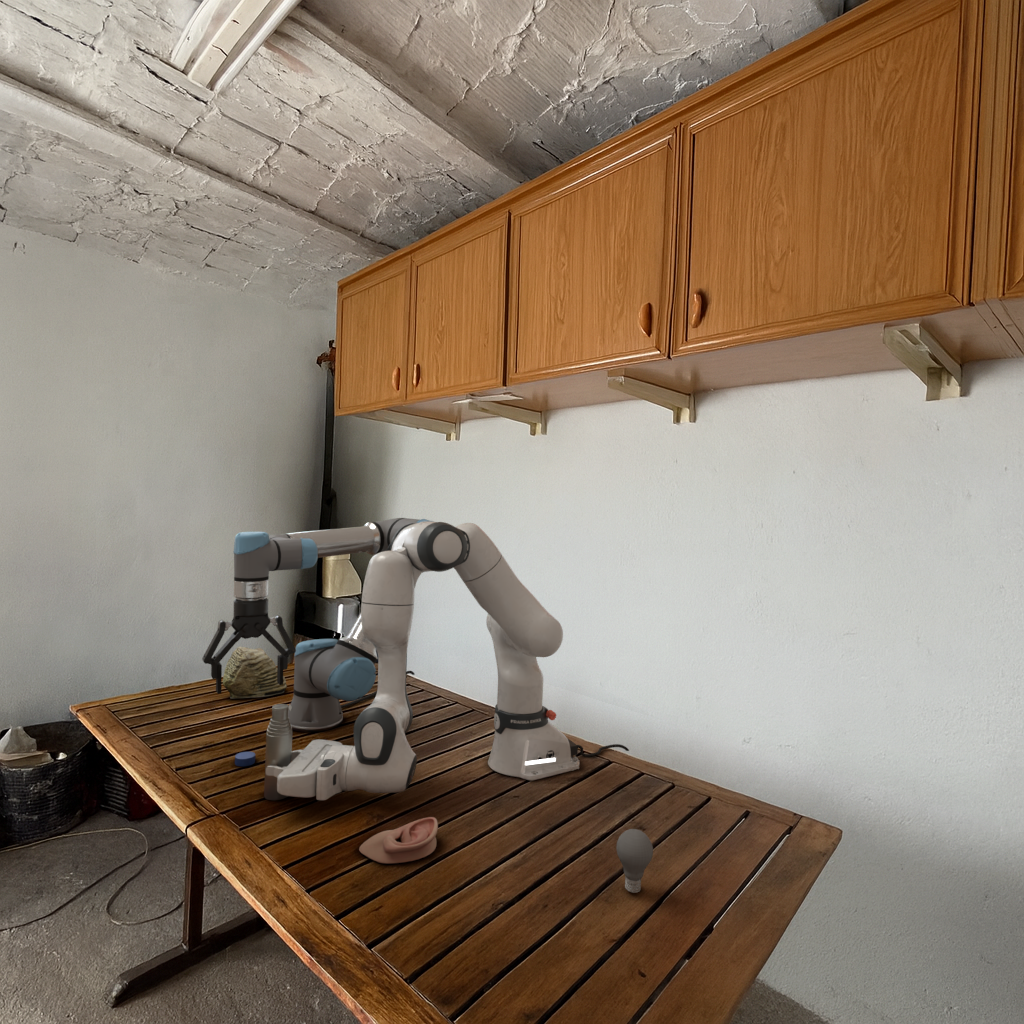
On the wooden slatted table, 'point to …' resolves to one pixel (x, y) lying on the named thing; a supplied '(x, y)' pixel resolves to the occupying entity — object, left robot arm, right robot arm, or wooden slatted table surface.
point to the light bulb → (634, 857)
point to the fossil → (251, 674)
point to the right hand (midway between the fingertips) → (274, 762)
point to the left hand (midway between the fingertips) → (250, 687)
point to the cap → (245, 759)
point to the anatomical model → (403, 842)
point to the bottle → (277, 748)
